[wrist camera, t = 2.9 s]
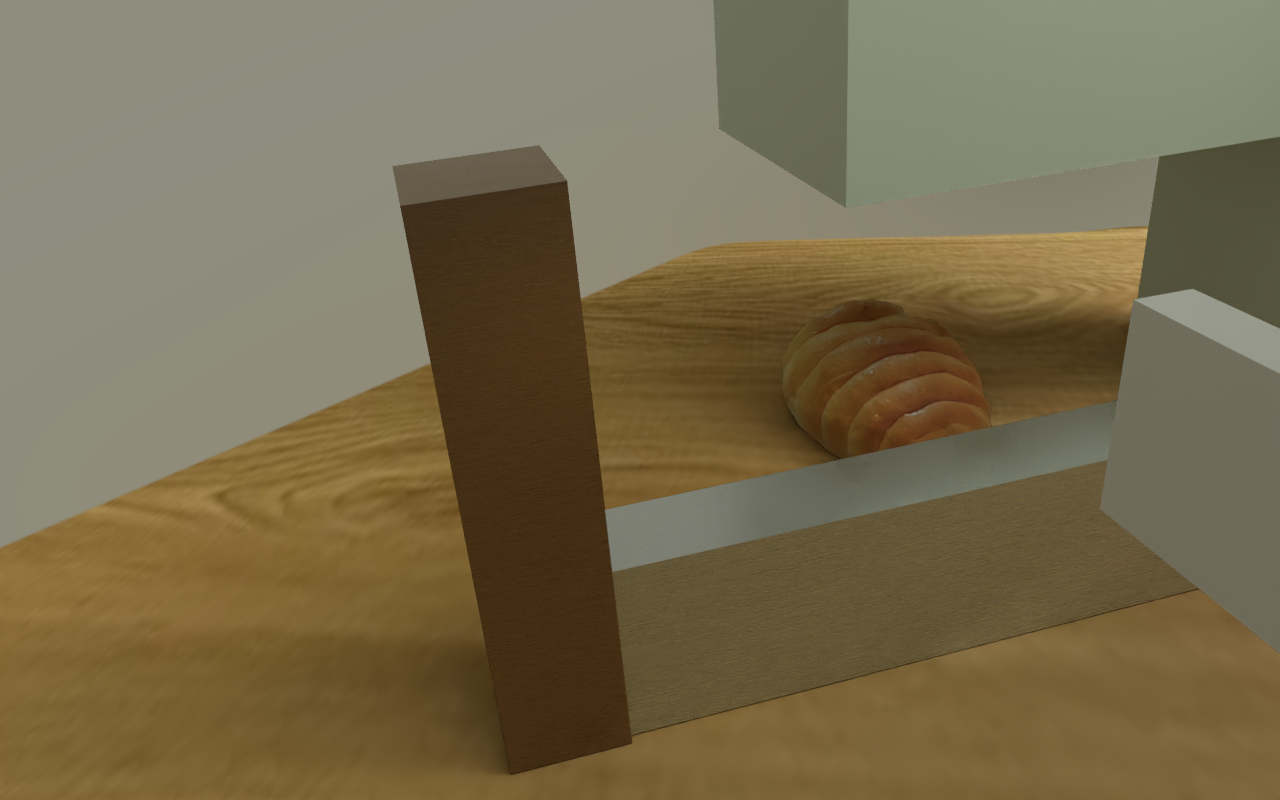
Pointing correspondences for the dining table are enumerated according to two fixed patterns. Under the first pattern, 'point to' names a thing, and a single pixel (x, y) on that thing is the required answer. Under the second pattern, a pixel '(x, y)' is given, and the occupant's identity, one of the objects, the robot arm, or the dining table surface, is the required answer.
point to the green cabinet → (1029, 111)
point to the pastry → (880, 380)
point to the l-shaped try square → (714, 510)
